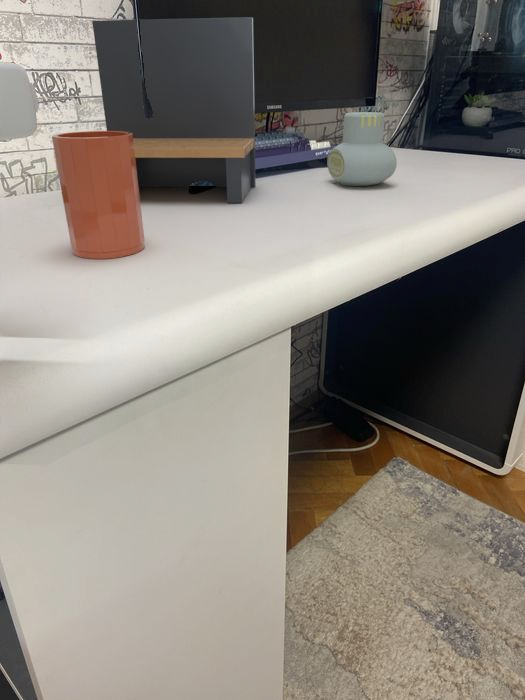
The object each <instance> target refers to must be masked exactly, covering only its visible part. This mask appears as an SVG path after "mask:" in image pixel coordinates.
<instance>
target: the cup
mask: <svg viewBox="0 0 525 700" xmlns="http://www.w3.org/2000/svg"><path fill="white" fill-rule="evenodd" d="M51 140H52V145H53V151H54V157H55V162H56V169H57V174H58V179H59V185H60V190H61V198H62V201H63V207H64V211H65V219H66V224H67V230H68V234H69V240H70V247H71V250H72V254H73V255H75V256H76V257H79V258H84V259H92V260H108V259H116V258H117V259H118V258H122V257H123V258H124V257H127V256H131V255H134V254H138V253H139V252H141V251H143V250H144V249H145V247H146V244H145V231H144V223H143V215H142V214H143V213H142V206H141V204H142V203H141V197H140V196H141V195H140V187H138V178H137V169H136V160H135V151H134V142H133V134H132V133H131V132H126V131H107V130H84V131H70V132H69V131H68V132H62V133H61V132H60V133H56V134H52V136H51Z"/></svg>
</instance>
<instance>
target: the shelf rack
mask: <svg viewBox="0 0 525 700" xmlns="http://www.w3.org/2000/svg"><path fill="white" fill-rule="evenodd" d="M136 20H137V19H112V20H111V19H110V20H109V19H108V20H107V19H106V20H92V29H93V36H94V37H93V38H94V45H95V52H96V60H97V66H98V67H97V68H98V75H99V82H100V89H101V98H102V104H103V112H104V113H103V114H104V120H105V128H106V131H126V132H131V133H132V134H133V142H134V151H135V160H136V169H137V178H138V187H139V188H144V187H145V188H146V187H149V188H150V187H151V188H158V187H159V188H190V187H189V186H190V185H191V184H192V183H195V182H199V181H208V182H210V183H212V184H214V185H215V186H216V187H215V188H226V203H227V204H243V202H244V200H245V199H246V197H247V195H248V194H249V192H250V190H251V189H252V188H256V184H257V183H256V182H257V181H256V179H257V177H256V123H255V117H256V116H255V64H254V63H255V61H254V60H255V56H254V55H255V54H254V51H255V50H254V17H252V16H251V17H210V18H208V17H206V18H204V17H203V18H202V17H199V18H163V19H162V18H157V19H156V18H155V19H154V18H153V19H152V18H151V19H150V18H149V19H139V20H140V35H141V52H142V55H143V63H144V78H145V87H146V93H147V99H149V102H150V105H151V107H152V111H153V114H152V116H153V117H151V118H150V119H147V118H145V116H144V108H143V96H142V92H143V91H142V90H143V89H142V79H143V77H142V70H141V65H140V60H139V52H138V42H139V41H138V33H137V21H136ZM140 70H141V74H140Z"/></svg>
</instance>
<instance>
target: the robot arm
mask: <svg viewBox="0 0 525 700" xmlns="http://www.w3.org/2000/svg"><path fill="white" fill-rule="evenodd" d="M39 107H40V106H39V101H38V95H37V91H36V87H35V86H34V84H33V83H32V82H31V81H30V78H29V76H28V73H27V70H26V69H25V68H24V67H23V66H22V65H20V64H18V63H15V62H10V61H0V141H9V140H19V139H25V138H28V137H31V136H33V135H34V134H35V133H36V131H37V129H38V119H37V112H38V111H39Z"/></svg>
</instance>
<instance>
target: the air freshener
mask: <svg viewBox="0 0 525 700" xmlns="http://www.w3.org/2000/svg"><path fill="white" fill-rule="evenodd" d="M384 128H385V114H384V113H383V112H377V111H376V112H375V111H355V112H353V111H351V112H347V113H345V114H344V117H343V132H342V142H341V143H339V144H338V145H336V146H334V147H333V148H332V149H331V150H330V151H329V152H328V155H327V160H326V161H327V162H326V163H327V164H326V165H327V170H328V173H329V175H330V177H331V178H332V179H334V180H335V181H336V182H338V183H339V184H340V185H343V186H349V187H367V186H375V185H378V184H381V183H383V182H385V181H386V180H388V179H390V178H391V177H392V176H393V174H395V171H396V169H397V163H398V161H397V156H396V154H395V151H394V150H393V149H392V148H391V147H390V146H388V145H387V144H385V143H384V141H383V140H384V130H385V129H384Z"/></svg>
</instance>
